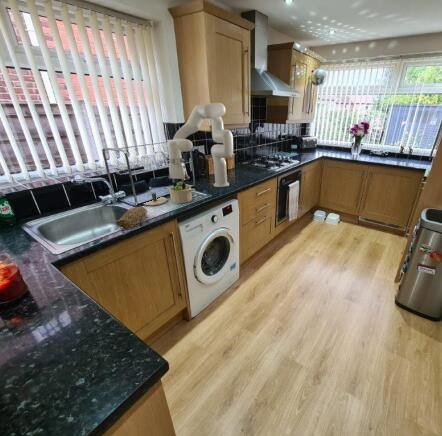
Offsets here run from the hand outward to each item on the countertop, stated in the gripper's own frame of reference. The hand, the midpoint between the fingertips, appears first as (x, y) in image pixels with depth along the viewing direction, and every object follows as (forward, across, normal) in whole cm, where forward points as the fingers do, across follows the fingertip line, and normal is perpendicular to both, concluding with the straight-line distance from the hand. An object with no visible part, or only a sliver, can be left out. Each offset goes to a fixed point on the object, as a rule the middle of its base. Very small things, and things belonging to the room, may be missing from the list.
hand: (180, 188), depth 162 cm
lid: (+8, +16, +6) cm, 19 cm away
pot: (+8, 0, 0) cm, 8 cm away
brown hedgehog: (+9, +12, +36) cm, 39 cm away
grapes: (0, 0, +1) cm, 1 cm away
